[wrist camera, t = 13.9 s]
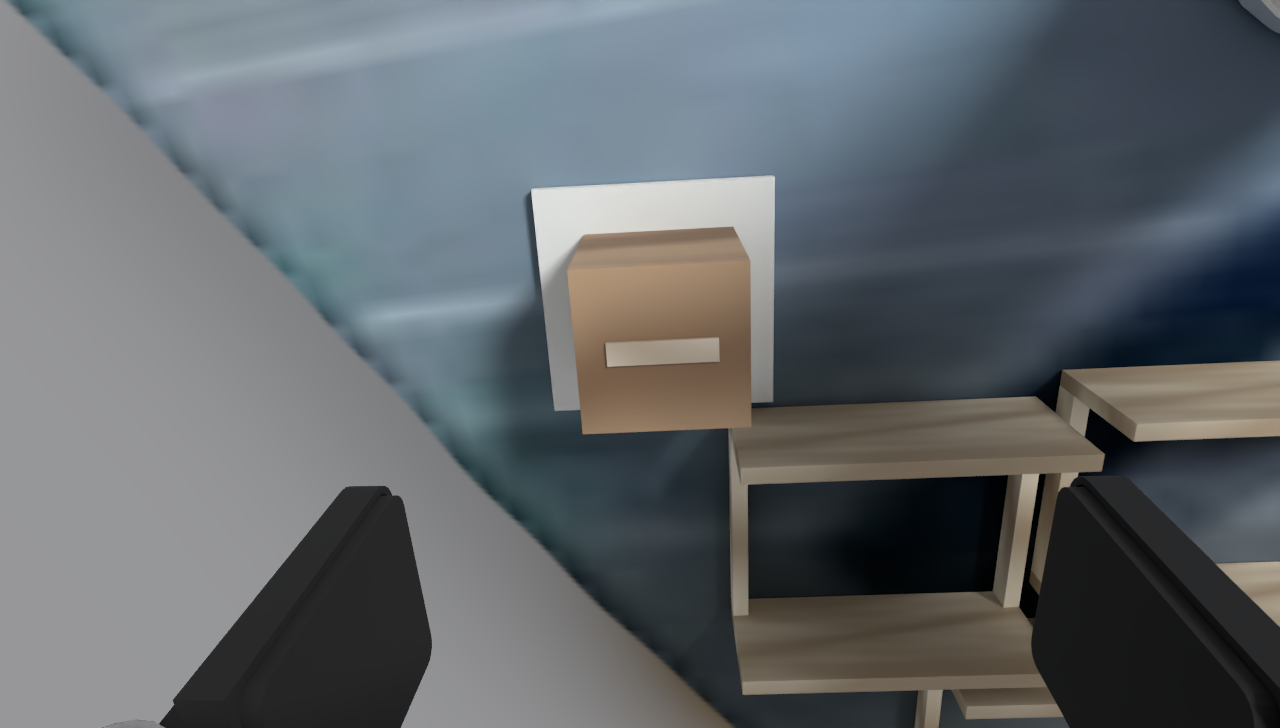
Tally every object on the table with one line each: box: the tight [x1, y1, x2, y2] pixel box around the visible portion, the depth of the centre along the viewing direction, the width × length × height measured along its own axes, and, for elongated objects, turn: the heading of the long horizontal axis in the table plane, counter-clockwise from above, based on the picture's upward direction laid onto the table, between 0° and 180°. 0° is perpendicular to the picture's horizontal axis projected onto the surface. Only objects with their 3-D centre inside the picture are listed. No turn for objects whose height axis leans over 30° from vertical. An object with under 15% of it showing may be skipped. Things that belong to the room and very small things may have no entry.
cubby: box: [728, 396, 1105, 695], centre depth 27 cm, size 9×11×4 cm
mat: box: [531, 175, 775, 411], centre depth 26 cm, size 8×8×1 cm
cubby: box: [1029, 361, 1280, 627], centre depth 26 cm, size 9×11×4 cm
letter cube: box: [567, 227, 751, 434], centre depth 23 cm, size 5×5×5 cm
